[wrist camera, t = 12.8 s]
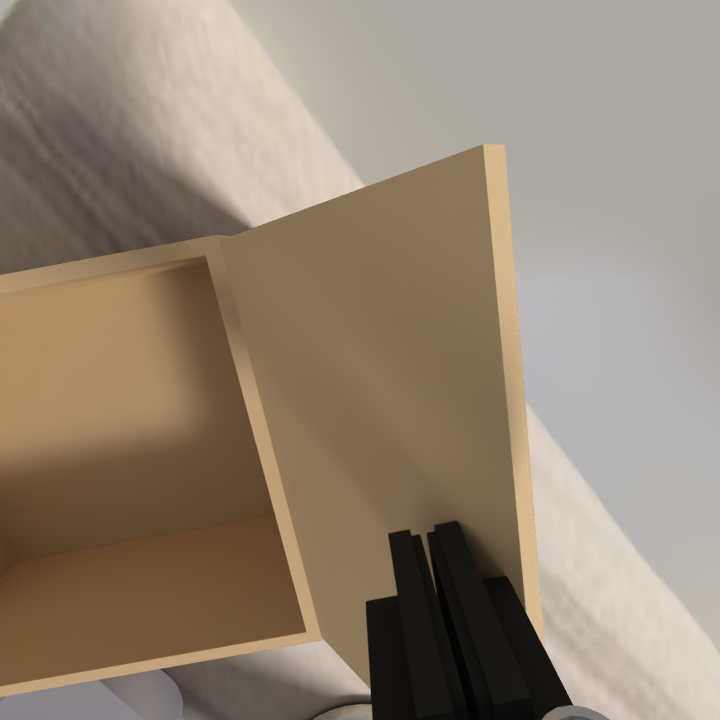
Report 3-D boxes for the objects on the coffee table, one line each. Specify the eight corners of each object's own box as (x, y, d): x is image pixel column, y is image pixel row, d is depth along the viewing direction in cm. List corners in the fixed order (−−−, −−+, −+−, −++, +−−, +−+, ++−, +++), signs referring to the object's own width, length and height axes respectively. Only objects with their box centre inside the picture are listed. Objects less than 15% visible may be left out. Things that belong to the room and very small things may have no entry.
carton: (329, 508, 28) (322, 640, 19) (19, 563, 29) (-147, 722, 19) (269, 241, 24) (217, 234, 14) (-100, 310, 24) (-401, 349, 14)
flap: (321, 636, 19) (331, 627, 19) (551, 881, 11) (561, 858, 11) (219, 240, 14) (235, 238, 15) (483, 144, 6) (505, 144, 6)
